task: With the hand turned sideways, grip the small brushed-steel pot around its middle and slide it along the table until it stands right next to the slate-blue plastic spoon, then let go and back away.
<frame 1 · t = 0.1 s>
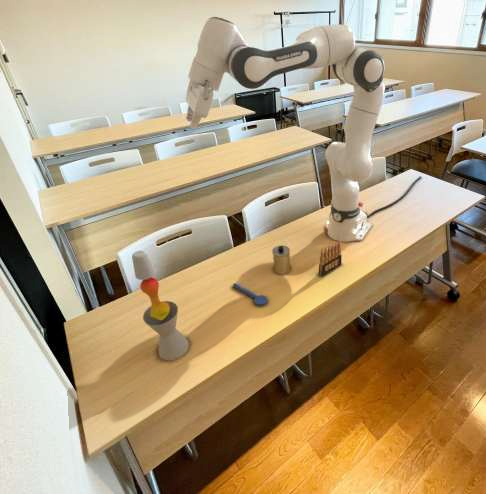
hand: (190, 124, 102), 54 cm above the table, tool tilted 30°, fingers open, 8 cm apart
spoon: (250, 295, 118), on the table
lava lamp: (173, 348, 100), on the table
ammunition clip: (330, 269, 129), on the table
pot: (282, 269, 130), on the table
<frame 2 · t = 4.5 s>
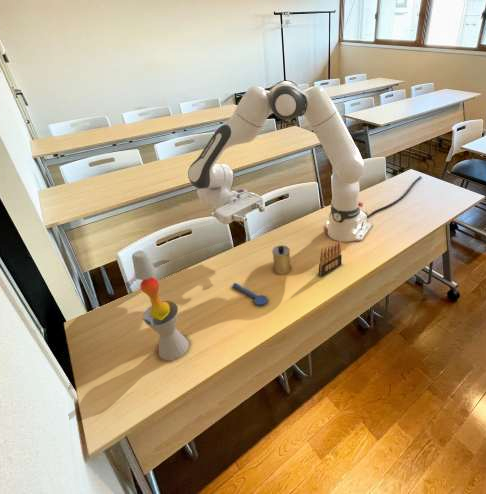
hand: (254, 214, 124), 20 cm above the table, tool horizontal, fingers open, 8 cm apart
nothing on the table moved.
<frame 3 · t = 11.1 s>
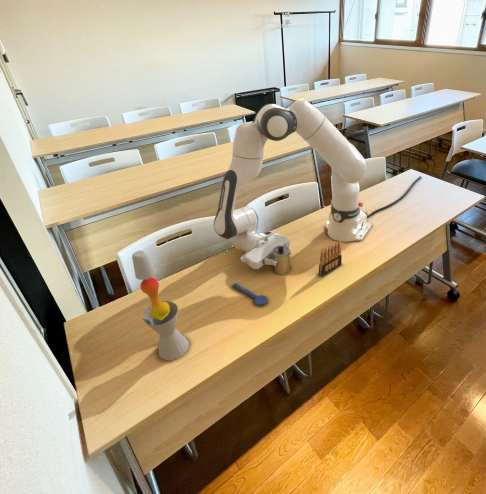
hand: (283, 258, 126), 6 cm above the table, tool horizontal, fingers closed on pot, 6 cm apart
pot: (282, 269, 130), on the table, touching gripper
everything else where it was.
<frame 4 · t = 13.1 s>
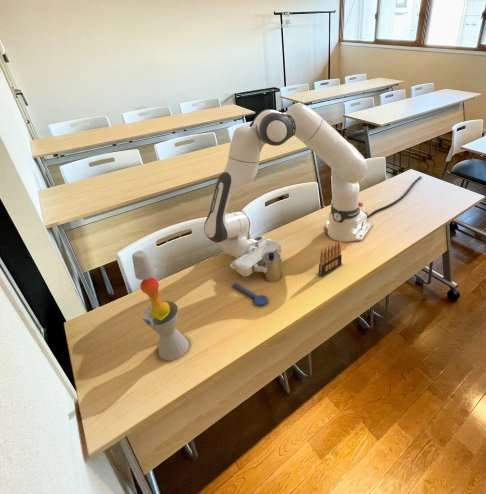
hand: (273, 265, 123), 6 cm above the table, tool horizontal, fingers closed on pot, 6 cm apart
pot: (273, 275, 126), on the table, touching gripper
everything else where it was.
when the fingers open (6 cm above the table, at t = 15.4 s): pot stays where it is, on the table.
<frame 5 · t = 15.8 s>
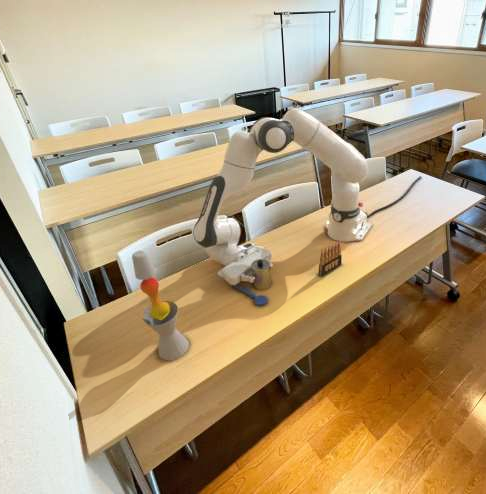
hand: (263, 273, 119), 6 cm above the table, tool horizontal, fingers open, 8 cm apart
pot: (262, 283, 123), on the table
everything else where it was.
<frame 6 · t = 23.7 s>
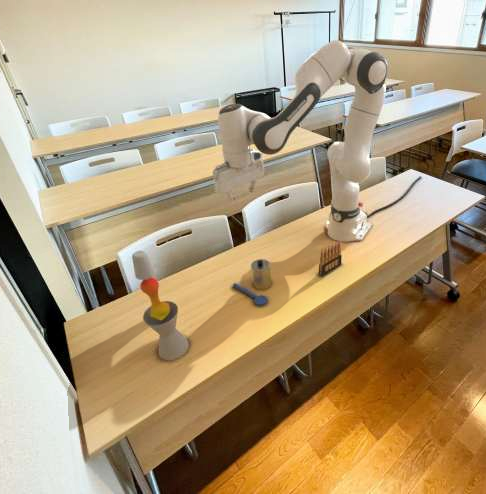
hand: (242, 196, 117), 29 cm above the table, tool pointing down, fingers open, 8 cm apart
nothing on the table moved.
at the end: pot inside the target area on the table beside the spoon (0.6 cm from its centre), on the table; pot tilted 0°; the gripper is holding nothing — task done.
